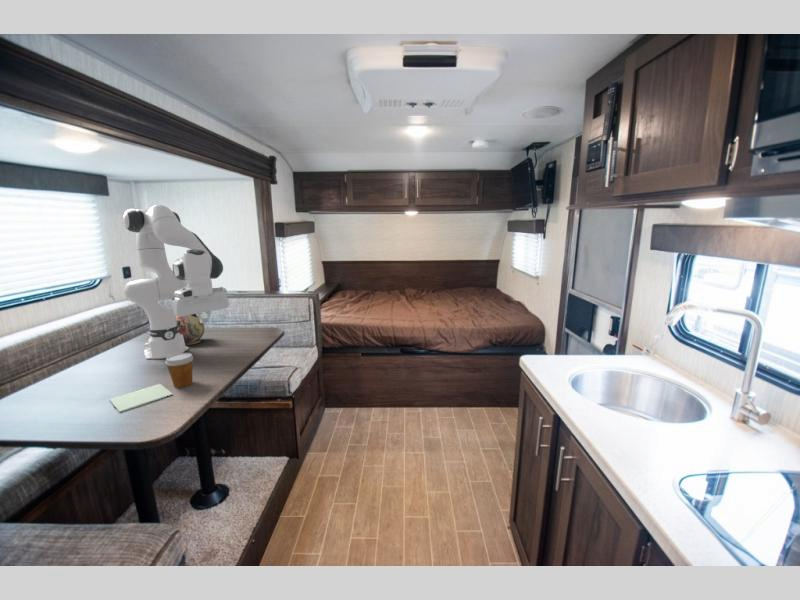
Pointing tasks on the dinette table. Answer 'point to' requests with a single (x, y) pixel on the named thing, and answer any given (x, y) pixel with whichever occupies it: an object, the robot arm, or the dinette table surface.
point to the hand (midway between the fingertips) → (204, 322)
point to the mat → (139, 397)
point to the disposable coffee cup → (180, 369)
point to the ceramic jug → (190, 328)
